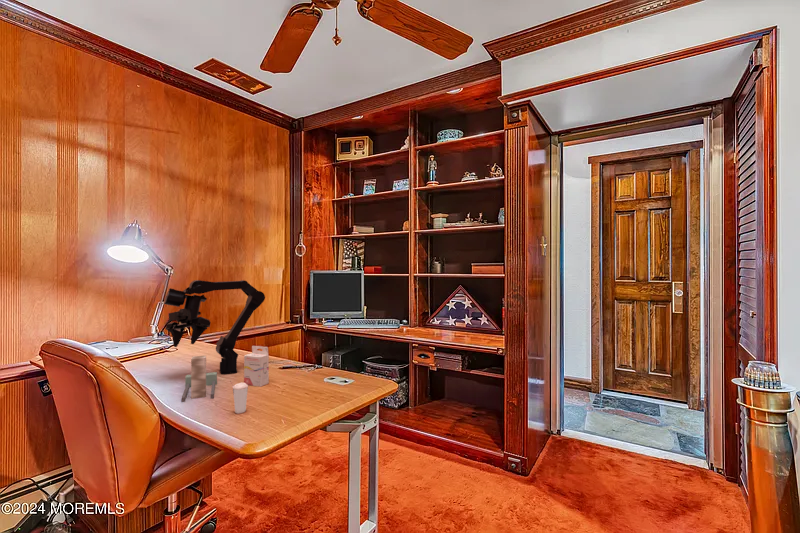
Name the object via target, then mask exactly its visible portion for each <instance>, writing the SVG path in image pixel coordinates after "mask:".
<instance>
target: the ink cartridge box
mask: <svg viewBox="0 0 800 533" xmlns="http://www.w3.org/2000/svg"><path fill="white" fill-rule="evenodd" d="M269 357H270V356H269V347H268V346H262V345H252V346H251V352H250V353H247V354H245V355H243V360H244V361H243V383H246V384H247V385H248V386H253V387H263V386H266V385H268V384H269V383H270V380H269V379H270V376H269V374H270V373H269V371H270V370H269V369H270V366H269V363H270V362H269V361H270V360H269V359H270V358H269Z"/></svg>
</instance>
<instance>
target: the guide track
mask: <svg viewBox="0 0 800 533" xmlns="http://www.w3.org/2000/svg"><path fill="white" fill-rule="evenodd" d="M184 379H185V380H184V381H185V383H184V390H183V394H182V396H181V403H185V402H186V400H187V396H188V394H189V391H190V388H191V374H187V375H186V374H185V378H184ZM217 384H218V372H217V371H216V372H215V371H213V372H206V387H207V386H211V387H210V388H211V389H210V399H211V400H212V399H214V398H215V390H216V386H217Z"/></svg>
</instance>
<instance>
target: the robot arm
mask: <svg viewBox="0 0 800 533" xmlns="http://www.w3.org/2000/svg"><path fill="white" fill-rule="evenodd" d="M225 290H229V291H230V290H241V291H242V292H243V293H244V294H245V295H246V296H247V298H246V301H245V305H244V307H243V309H242V311H241V312H240V314H239V315H238V317H237V318H236V320H235V322H234V323H233V324H232V326H231V328H230V329H229V331H228V332H227V334H226V335H225V336H222V335H220V337H219V340H218V341H217V342H216V343H215V345H216V346H215V351H216V353H217V354H218V355H220V357H221V361H219V373H220V375H227V374H228V375H229V374H237V373H238V366H237V364H238V360H237V359H238V357H239V354H238V353H237V352H236V351H235V350H234V349H235V347H236V343H237V339H238V337H239V335H240V334H241V332H242V331H243V329H244V327H245V326H246V325H247V323H248V321H249V319H250V318H251V316H252V315H253V313H254V311H255V310H257V309H258V308H259V307H260V306H261V305H262V304H263V303H264V301H265V300H266V294H265V293H264V292H262V291H260V290H258V289H256V288H255V287H254V286H252V285H251V284H250V283H249V282H248V281H247V280H244V279H243V280H242V279H241V280H233V281H232V280H230V281H210V280H209V281H208V280H199V279H195V280H192V281H191V282H190V283H189V286H187V287H186V288H185V289H184V290H179V289H174V288H172V287H171V288H170V287H169V289H168V291H167V294H166V295H165V296H164V297H165V298H164V301H163V304H164V305H168V306H173V307H177V308H180V306H183V305H184V307H183V308H180V309H179V310H178V311H174V312H168V321H169V322H168V323H167V324H166V325H165V330H166V331H167V332H169V333H170V335H171V337H172V338H171V339H172V344H173V348H177V347H178V345H179V344H180V342H181V340H182V337H183V335H184V334H185V332H184V331H185V329H187V328H191V329H192V331H191V338H190V344H191V345H194V344H195V343H196V342H197V341H198V339H199V338H200V337H201V335H202V334H203V333H204V332H205V331H206V330H207V329H208V328H210V327H211V320H210V319H208V318H205V317H203V316H200V315H201V314H202V312H201V311H200V307H201V303H205V302H206V301H207V300H208V298H207V297H206V296H205V295H204V294H205V293H209V292H215V291H225Z"/></svg>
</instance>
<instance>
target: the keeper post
mask: <svg viewBox="0 0 800 533" xmlns="http://www.w3.org/2000/svg"><path fill="white" fill-rule="evenodd" d="M190 360H191V361H190V362H191V363H190V365H191V366H190V375H191V387H190V388H191V390H190V391H191V392H190V394H191V395H190V398H191V400H192V399H193V400H194V399H200V398H205V397H206V396H207V386H206V373H207V355H194V356H191V358H190Z"/></svg>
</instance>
